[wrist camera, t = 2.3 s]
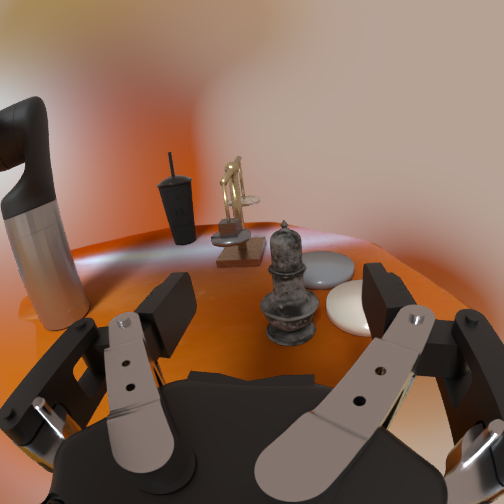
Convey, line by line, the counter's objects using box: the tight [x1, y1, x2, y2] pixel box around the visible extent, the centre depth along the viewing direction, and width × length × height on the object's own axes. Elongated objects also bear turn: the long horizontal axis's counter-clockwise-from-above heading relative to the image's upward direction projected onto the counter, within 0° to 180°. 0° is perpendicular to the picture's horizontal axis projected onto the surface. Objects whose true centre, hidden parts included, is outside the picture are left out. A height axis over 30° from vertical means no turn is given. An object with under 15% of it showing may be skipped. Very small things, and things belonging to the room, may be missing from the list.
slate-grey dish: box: [302, 251, 354, 290], centre depth 39 cm, size 10×10×1 cm
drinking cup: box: [157, 152, 196, 245], centre depth 56 cm, size 8×8×20 cm
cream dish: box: [326, 280, 371, 337], centre depth 29 cm, size 10×10×1 cm
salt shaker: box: [260, 220, 319, 346], centre depth 26 cm, size 6×6×12 cm
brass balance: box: [211, 156, 266, 267], centre depth 46 cm, size 7×19×17 cm, turn 171°
